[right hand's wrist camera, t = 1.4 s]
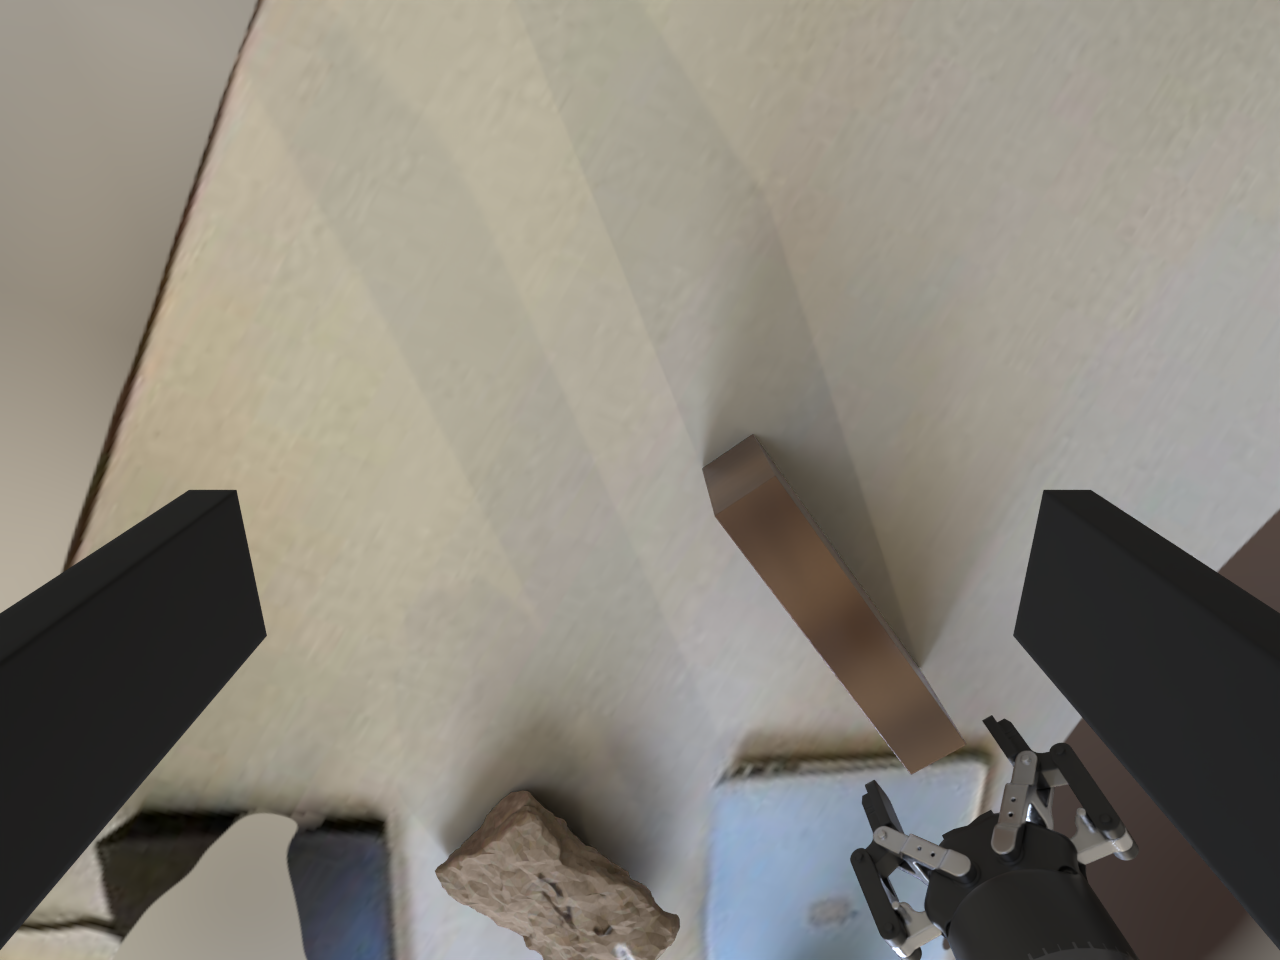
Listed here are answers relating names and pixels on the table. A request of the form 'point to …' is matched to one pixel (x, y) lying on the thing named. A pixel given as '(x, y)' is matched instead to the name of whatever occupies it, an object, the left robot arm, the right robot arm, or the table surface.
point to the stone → (554, 888)
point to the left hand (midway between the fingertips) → (933, 758)
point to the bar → (828, 604)
